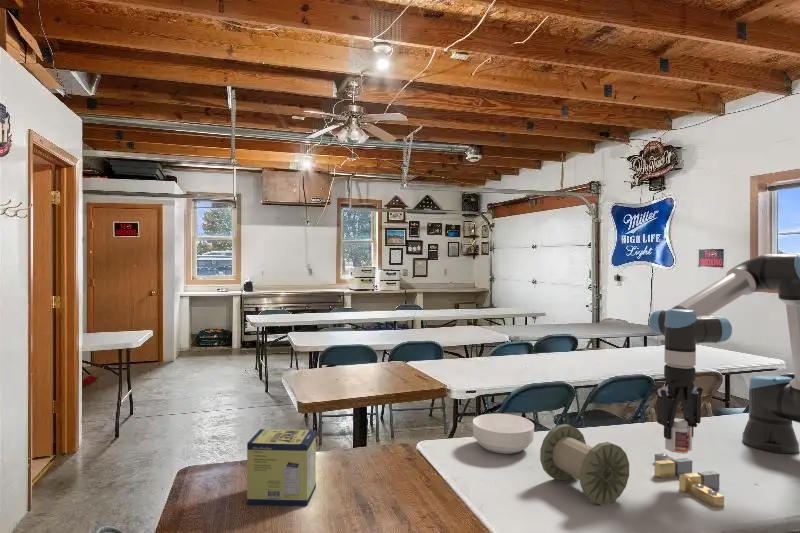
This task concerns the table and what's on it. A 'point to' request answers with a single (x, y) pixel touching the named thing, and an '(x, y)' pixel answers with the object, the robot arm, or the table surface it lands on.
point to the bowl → (503, 432)
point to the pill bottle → (681, 436)
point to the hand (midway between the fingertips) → (678, 449)
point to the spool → (585, 463)
